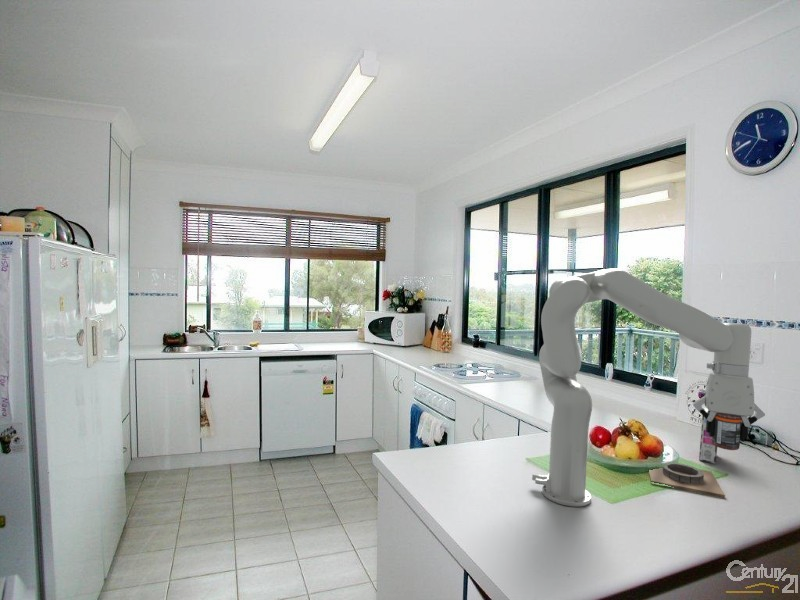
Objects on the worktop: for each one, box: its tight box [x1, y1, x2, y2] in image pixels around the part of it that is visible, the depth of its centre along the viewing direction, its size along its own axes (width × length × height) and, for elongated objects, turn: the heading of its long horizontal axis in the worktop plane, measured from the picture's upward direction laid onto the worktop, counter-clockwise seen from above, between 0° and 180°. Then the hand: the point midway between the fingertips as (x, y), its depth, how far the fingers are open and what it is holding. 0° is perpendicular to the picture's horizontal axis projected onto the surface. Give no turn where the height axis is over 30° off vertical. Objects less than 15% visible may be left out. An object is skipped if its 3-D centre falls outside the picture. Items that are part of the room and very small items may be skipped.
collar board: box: [648, 462, 726, 499], centre depth 136 cm, size 18×18×3 cm
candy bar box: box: [698, 407, 718, 464], centre depth 155 cm, size 11×5×16 cm, turn 145°
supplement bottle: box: [712, 413, 742, 451], centre depth 117 cm, size 6×6×11 cm
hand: (725, 437), depth 117 cm, fingers closed on supplement bottle, 6 cm apart
